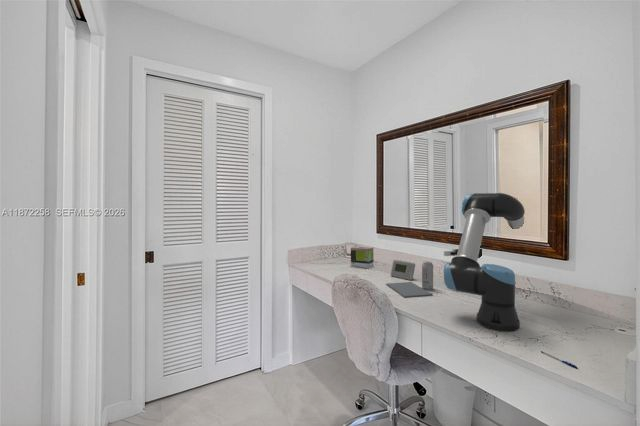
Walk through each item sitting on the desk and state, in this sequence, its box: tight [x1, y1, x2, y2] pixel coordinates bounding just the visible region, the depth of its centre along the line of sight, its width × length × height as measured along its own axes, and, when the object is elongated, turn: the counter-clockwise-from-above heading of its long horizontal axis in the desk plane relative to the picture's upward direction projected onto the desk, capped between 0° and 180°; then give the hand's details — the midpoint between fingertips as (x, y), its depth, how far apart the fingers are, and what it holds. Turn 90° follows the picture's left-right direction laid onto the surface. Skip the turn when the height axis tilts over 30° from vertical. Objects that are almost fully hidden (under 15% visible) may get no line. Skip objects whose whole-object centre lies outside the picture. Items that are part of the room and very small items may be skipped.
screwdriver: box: [540, 351, 578, 370], centre depth 94 cm, size 10×1×1 cm, turn 21°
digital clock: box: [390, 259, 416, 281], centre depth 195 cm, size 16×9×11 cm, turn 31°
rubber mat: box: [385, 281, 434, 299], centre depth 169 cm, size 24×16×1 cm, turn 10°
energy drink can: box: [421, 261, 434, 291], centre depth 170 cm, size 6×6×15 cm
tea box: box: [350, 245, 375, 269], centre depth 229 cm, size 15×10×15 cm, turn 58°
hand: (444, 253), depth 172 cm, fingers closed
